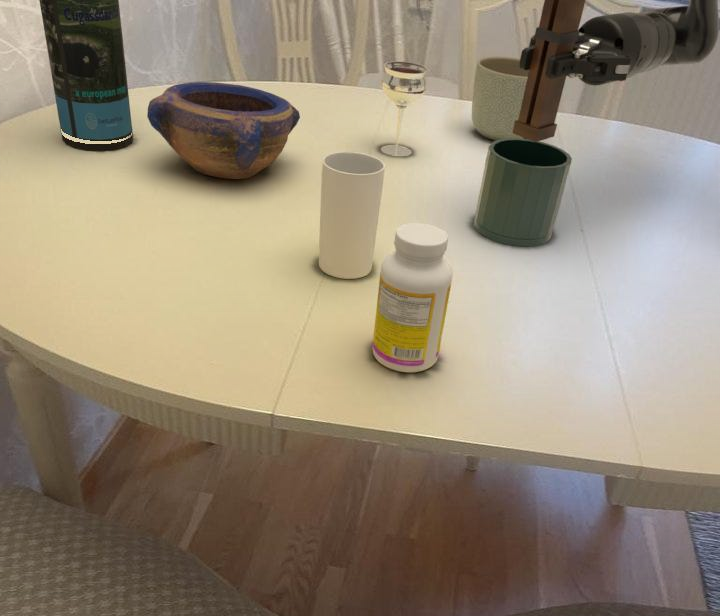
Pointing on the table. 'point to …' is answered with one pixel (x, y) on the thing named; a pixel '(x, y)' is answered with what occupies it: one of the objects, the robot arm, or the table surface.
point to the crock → (521, 191)
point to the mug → (349, 213)
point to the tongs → (541, 91)
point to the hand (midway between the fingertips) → (536, 63)
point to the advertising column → (88, 71)
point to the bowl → (223, 126)
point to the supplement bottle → (412, 299)
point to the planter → (498, 96)
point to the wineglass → (402, 94)
